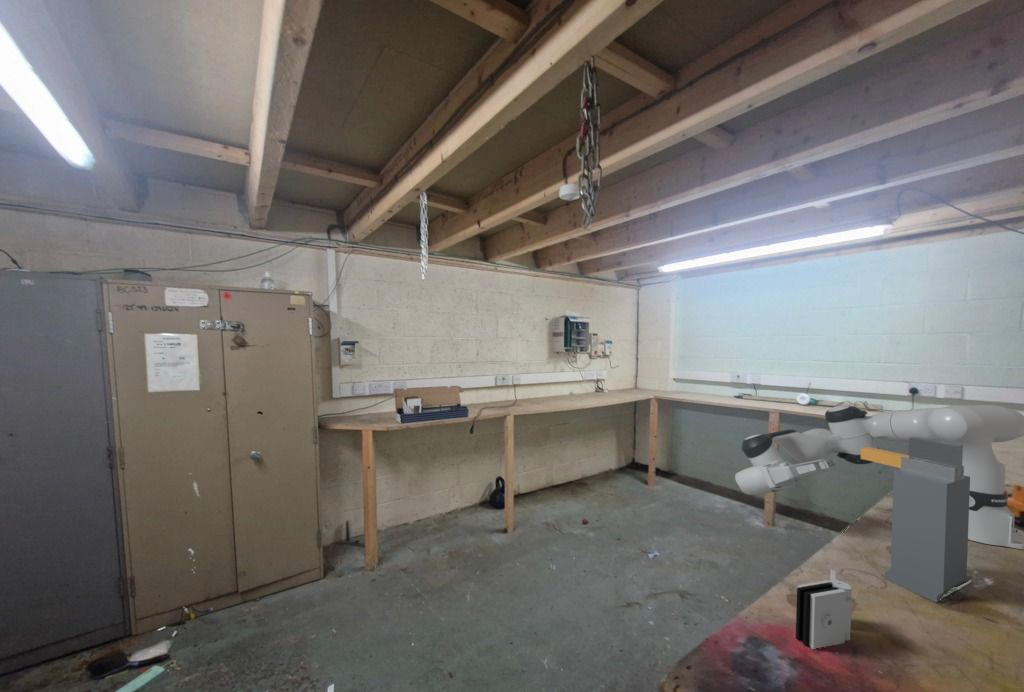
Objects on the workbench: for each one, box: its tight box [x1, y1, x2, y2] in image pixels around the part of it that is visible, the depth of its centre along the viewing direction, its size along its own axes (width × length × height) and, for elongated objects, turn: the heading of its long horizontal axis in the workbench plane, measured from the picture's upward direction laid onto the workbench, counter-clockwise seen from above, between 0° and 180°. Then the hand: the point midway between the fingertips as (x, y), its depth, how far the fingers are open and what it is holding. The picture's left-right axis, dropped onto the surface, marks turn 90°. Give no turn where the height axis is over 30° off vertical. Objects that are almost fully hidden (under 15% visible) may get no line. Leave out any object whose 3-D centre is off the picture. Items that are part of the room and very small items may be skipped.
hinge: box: [795, 569, 853, 650], centre depth 74 cm, size 14×5×10 cm, turn 116°
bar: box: [861, 437, 963, 481], centre depth 95 cm, size 3×18×8 cm, turn 24°
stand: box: [883, 457, 973, 603], centre depth 91 cm, size 18×9×29 cm, turn 114°
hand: (825, 464), depth 111 cm, fingers open, 8 cm apart
